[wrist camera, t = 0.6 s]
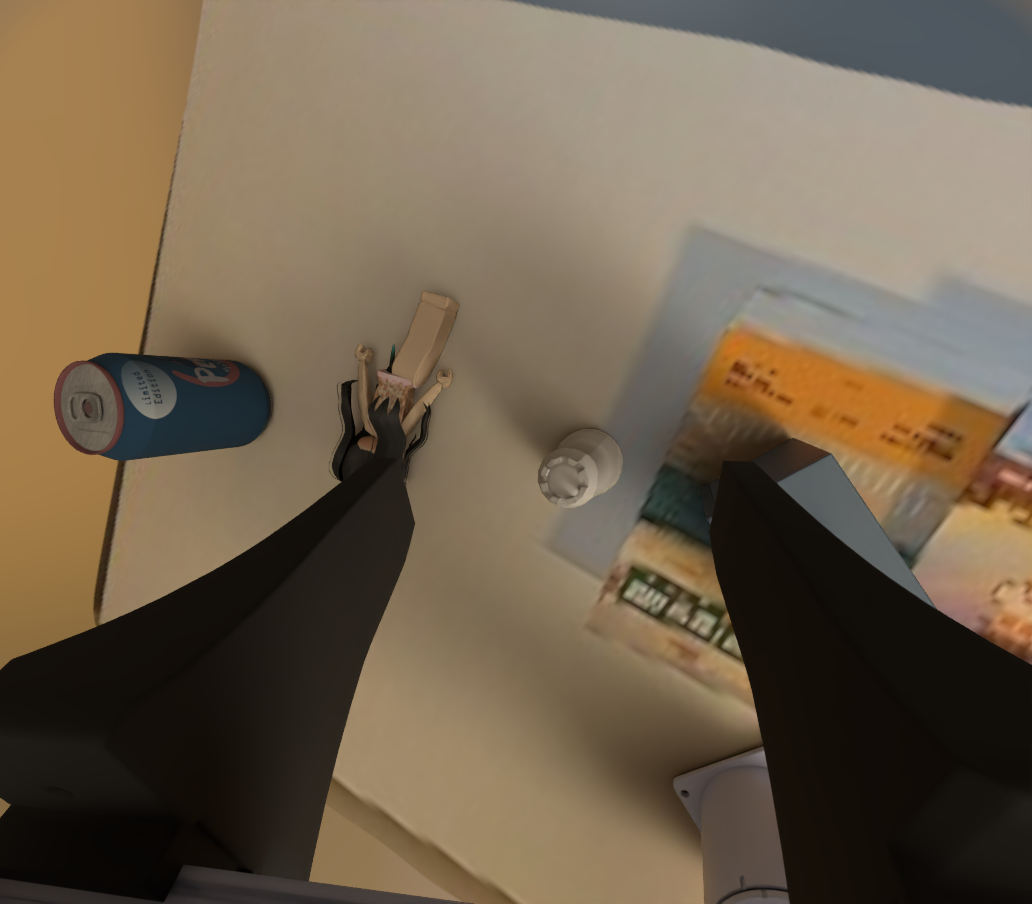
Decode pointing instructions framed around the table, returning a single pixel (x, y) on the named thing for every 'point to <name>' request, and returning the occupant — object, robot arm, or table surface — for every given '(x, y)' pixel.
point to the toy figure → (396, 392)
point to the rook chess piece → (580, 468)
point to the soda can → (159, 405)
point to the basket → (830, 506)
